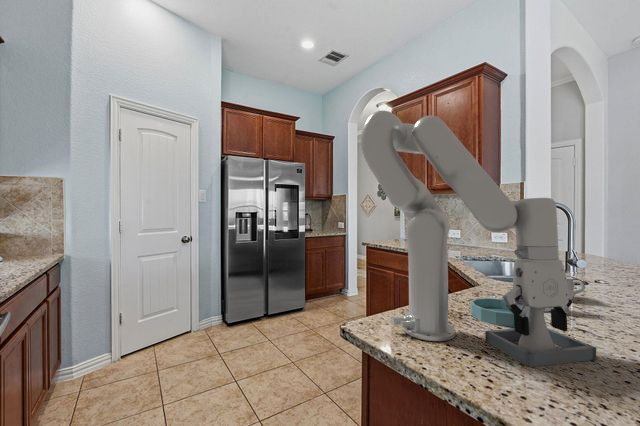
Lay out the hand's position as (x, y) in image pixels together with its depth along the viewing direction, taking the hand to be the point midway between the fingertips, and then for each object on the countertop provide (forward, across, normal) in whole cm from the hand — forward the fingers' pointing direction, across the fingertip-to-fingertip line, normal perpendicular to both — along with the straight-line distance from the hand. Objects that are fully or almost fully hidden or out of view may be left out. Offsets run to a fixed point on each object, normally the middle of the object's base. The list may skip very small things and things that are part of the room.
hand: (540, 331), depth 65 cm
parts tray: (+4, -1, 0) cm, 4 cm away
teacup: (+5, +42, +32) cm, 54 cm away
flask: (+4, -1, 0) cm, 5 cm away
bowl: (+4, +7, +20) cm, 22 cm away
